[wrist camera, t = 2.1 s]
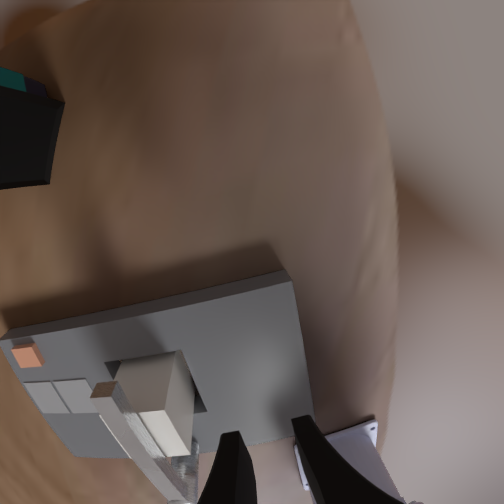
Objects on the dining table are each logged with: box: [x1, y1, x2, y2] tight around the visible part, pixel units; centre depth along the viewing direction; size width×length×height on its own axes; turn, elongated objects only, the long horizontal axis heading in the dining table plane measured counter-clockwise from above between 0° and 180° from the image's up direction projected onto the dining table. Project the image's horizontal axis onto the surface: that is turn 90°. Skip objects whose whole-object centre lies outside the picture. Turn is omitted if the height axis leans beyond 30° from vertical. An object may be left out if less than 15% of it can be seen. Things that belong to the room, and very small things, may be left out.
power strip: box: [0, 270, 316, 458], centre depth 19 cm, size 13×22×3 cm, turn 102°
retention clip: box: [90, 381, 199, 504], centre depth 16 cm, size 12×2×6 cm, turn 12°
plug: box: [99, 350, 195, 458], centre depth 17 cm, size 4×4×6 cm
